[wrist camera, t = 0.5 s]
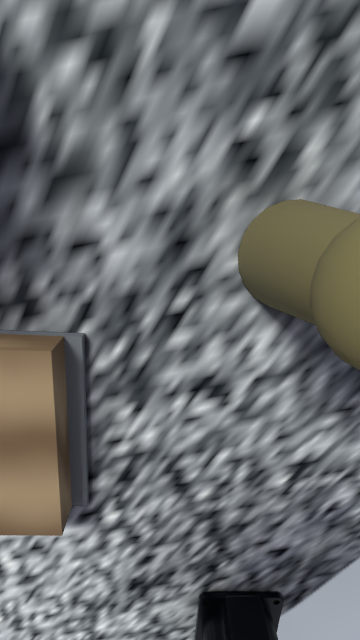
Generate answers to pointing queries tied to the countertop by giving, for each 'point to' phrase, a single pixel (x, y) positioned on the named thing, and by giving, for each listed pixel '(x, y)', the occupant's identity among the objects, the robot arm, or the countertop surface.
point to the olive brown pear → (308, 269)
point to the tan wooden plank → (33, 436)
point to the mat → (74, 411)
